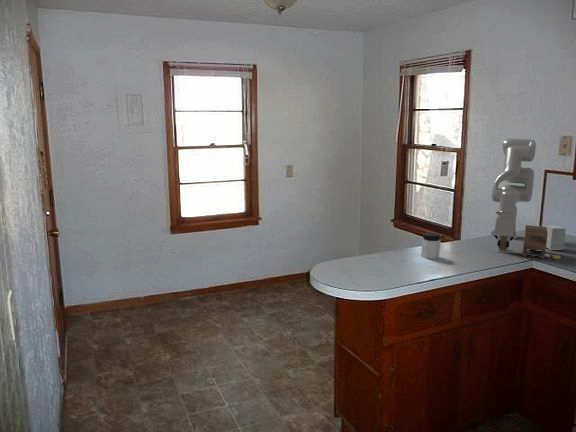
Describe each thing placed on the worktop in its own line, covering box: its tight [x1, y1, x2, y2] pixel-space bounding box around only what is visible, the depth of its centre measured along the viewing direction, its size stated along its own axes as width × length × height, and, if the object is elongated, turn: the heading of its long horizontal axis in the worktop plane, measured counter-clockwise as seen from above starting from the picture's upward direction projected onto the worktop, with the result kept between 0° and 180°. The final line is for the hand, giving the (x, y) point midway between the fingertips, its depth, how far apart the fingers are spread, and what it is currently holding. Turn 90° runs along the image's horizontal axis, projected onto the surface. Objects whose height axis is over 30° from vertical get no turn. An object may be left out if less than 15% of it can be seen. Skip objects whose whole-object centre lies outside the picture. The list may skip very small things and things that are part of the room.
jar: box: [420, 231, 441, 260], centre depth 250 cm, size 9×8×12 cm
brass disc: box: [549, 253, 561, 260], centre depth 253 cm, size 5×5×2 cm
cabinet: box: [522, 224, 548, 260], centre depth 258 cm, size 19×10×14 cm, turn 154°
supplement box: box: [545, 225, 567, 251], centre depth 269 cm, size 7×7×13 cm
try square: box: [497, 236, 551, 259], centre depth 258 cm, size 5×24×10 cm, turn 64°
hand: (502, 247), depth 263 cm, fingers closed on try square, 3 cm apart
